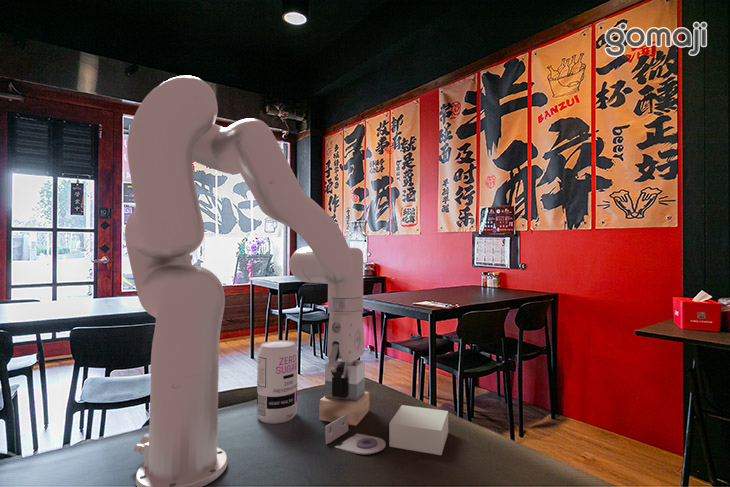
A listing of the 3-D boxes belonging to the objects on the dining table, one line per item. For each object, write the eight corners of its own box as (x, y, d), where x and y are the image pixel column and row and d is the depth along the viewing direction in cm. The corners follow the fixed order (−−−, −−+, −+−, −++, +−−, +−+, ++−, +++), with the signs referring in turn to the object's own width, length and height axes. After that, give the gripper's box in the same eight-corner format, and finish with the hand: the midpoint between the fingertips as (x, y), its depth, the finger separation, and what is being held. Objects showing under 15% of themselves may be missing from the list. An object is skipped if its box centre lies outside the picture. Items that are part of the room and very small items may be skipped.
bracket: (372, 462, 63) (372, 440, 63) (324, 446, 68) (324, 426, 68) (392, 446, 68) (392, 426, 68) (346, 432, 74) (346, 414, 74)
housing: (324, 397, 80) (325, 363, 80) (334, 390, 84) (334, 357, 85) (356, 401, 77) (356, 366, 78) (364, 393, 82) (364, 360, 82)
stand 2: (389, 446, 67) (389, 423, 67) (401, 425, 76) (401, 405, 76) (441, 455, 64) (441, 430, 64) (448, 432, 73) (448, 411, 73)
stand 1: (319, 419, 78) (319, 399, 78) (335, 405, 86) (335, 387, 86) (356, 425, 76) (356, 404, 76) (369, 410, 83) (369, 391, 83)
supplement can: (269, 407, 85) (270, 338, 85) (303, 411, 83) (304, 341, 83) (248, 422, 77) (249, 346, 78) (285, 427, 75) (286, 349, 75)
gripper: (346, 311, 72) (346, 409, 72) (374, 302, 88) (374, 382, 88) (311, 309, 75) (310, 404, 74) (344, 300, 91) (344, 378, 90)
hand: (345, 391), depth 81 cm, fingers closed on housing, 5 cm apart
